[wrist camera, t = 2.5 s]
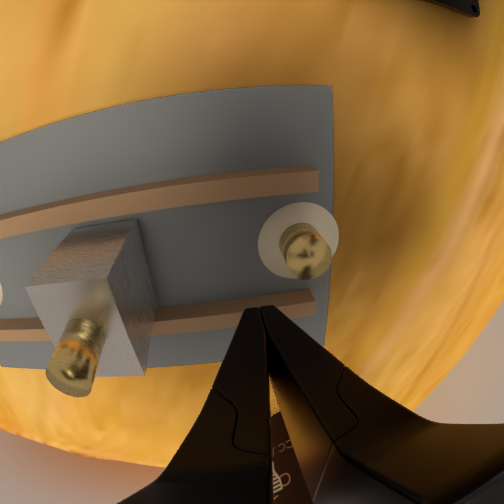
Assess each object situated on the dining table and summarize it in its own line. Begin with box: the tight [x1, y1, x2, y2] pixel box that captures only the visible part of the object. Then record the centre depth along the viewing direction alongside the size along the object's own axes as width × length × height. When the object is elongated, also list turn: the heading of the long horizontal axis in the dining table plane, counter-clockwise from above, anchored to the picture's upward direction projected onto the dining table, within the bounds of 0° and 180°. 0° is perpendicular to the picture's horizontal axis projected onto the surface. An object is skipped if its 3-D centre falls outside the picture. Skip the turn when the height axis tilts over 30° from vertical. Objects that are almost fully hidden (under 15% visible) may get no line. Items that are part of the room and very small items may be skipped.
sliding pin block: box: [25, 219, 158, 397], centre depth 10 cm, size 3×4×6 cm
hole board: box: [0, 85, 339, 369], centre depth 13 cm, size 21×13×2 cm, turn 94°
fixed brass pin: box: [279, 223, 332, 280], centre depth 13 cm, size 2×2×2 cm
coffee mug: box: [271, 411, 313, 504], centre depth 18 cm, size 12×9×10 cm
